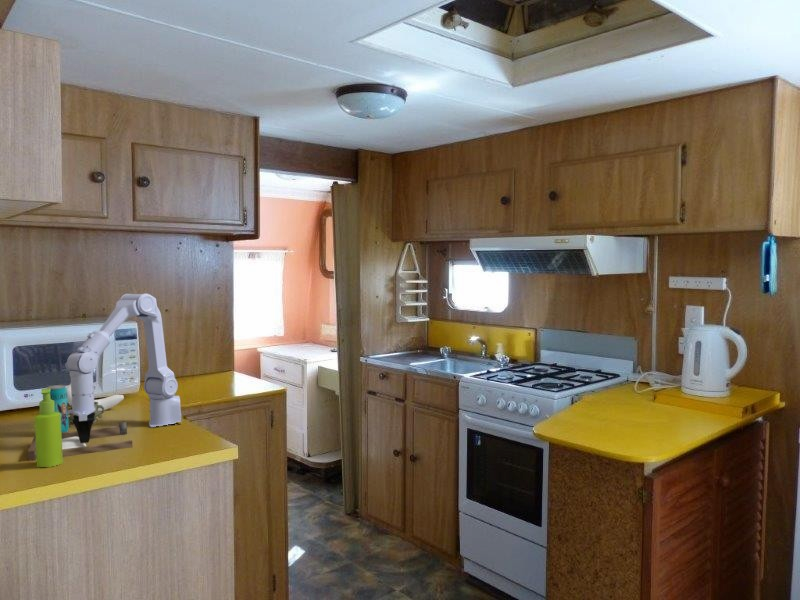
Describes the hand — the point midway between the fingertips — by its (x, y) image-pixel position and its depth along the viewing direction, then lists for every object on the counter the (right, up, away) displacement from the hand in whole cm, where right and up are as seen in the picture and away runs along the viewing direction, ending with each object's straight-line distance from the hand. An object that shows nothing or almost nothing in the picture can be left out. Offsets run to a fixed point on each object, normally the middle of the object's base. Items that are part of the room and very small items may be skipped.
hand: (84, 440), depth 178 cm
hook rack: (-1, -1, 0) cm, 2 cm away
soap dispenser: (0, -3, -18) cm, 18 cm away
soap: (-4, -2, -2) cm, 5 cm away
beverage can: (-15, -1, +14) cm, 21 cm away
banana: (-19, 0, +44) cm, 48 cm away
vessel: (-15, -1, +29) cm, 33 cm away
